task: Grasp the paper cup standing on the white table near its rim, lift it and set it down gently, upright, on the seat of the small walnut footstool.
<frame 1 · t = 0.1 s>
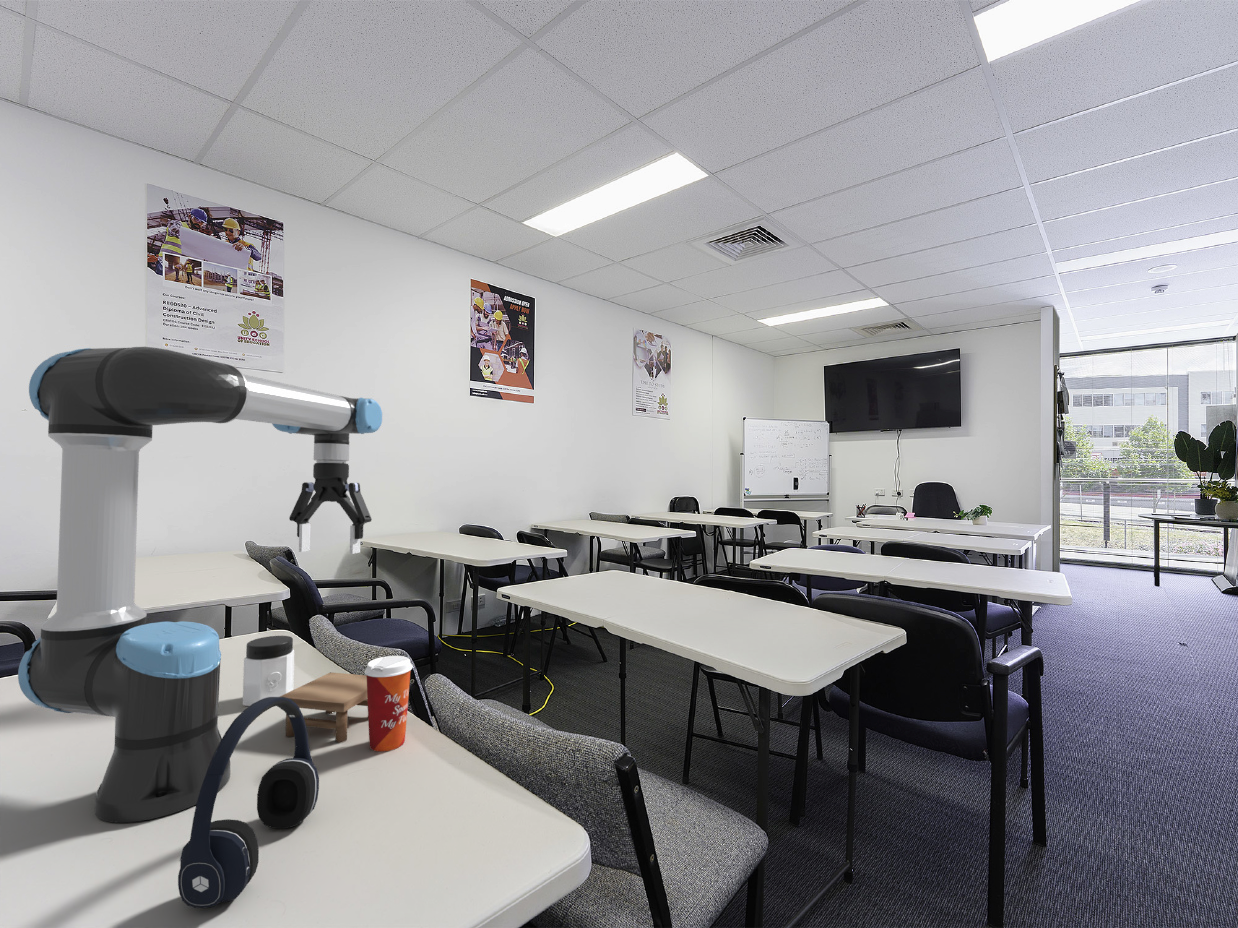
hand: (329, 552, 132), 28 cm above the table, fingers open, 13 cm apart
paper cup: (387, 744, 96), on the table
headphones: (256, 859, 67), on the table
jar: (268, 700, 115), on the table
stool: (335, 725, 103), on the table
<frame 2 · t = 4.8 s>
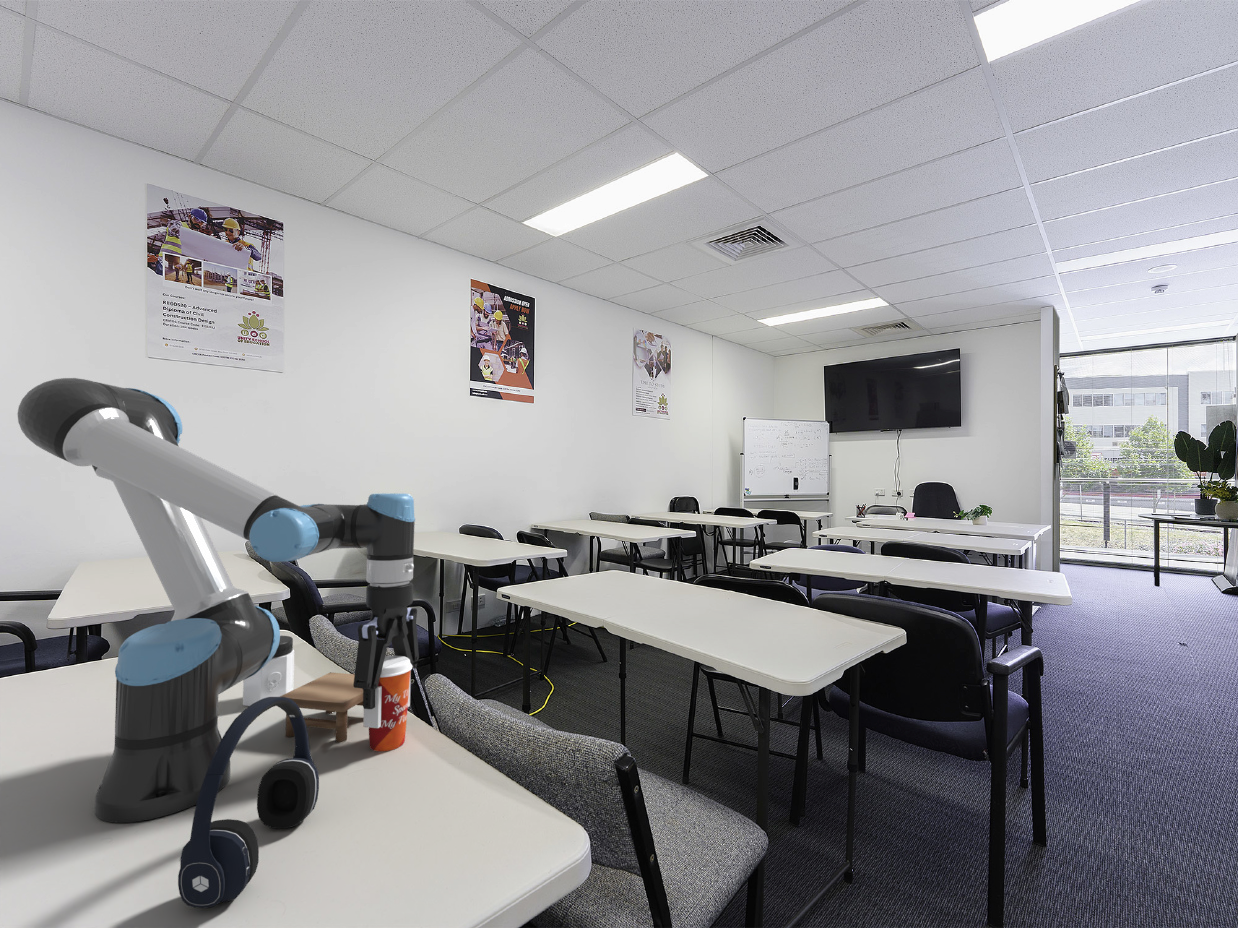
hand: (387, 715, 96), 5 cm above the table, fingers closed on paper cup, 8 cm apart
paper cup: (387, 744, 96), on the table, touching gripper
everything else where it was.
when the fingers open (12 cm above the table, at t = 9.7 s): paper cup stays where it is, resting on stool.
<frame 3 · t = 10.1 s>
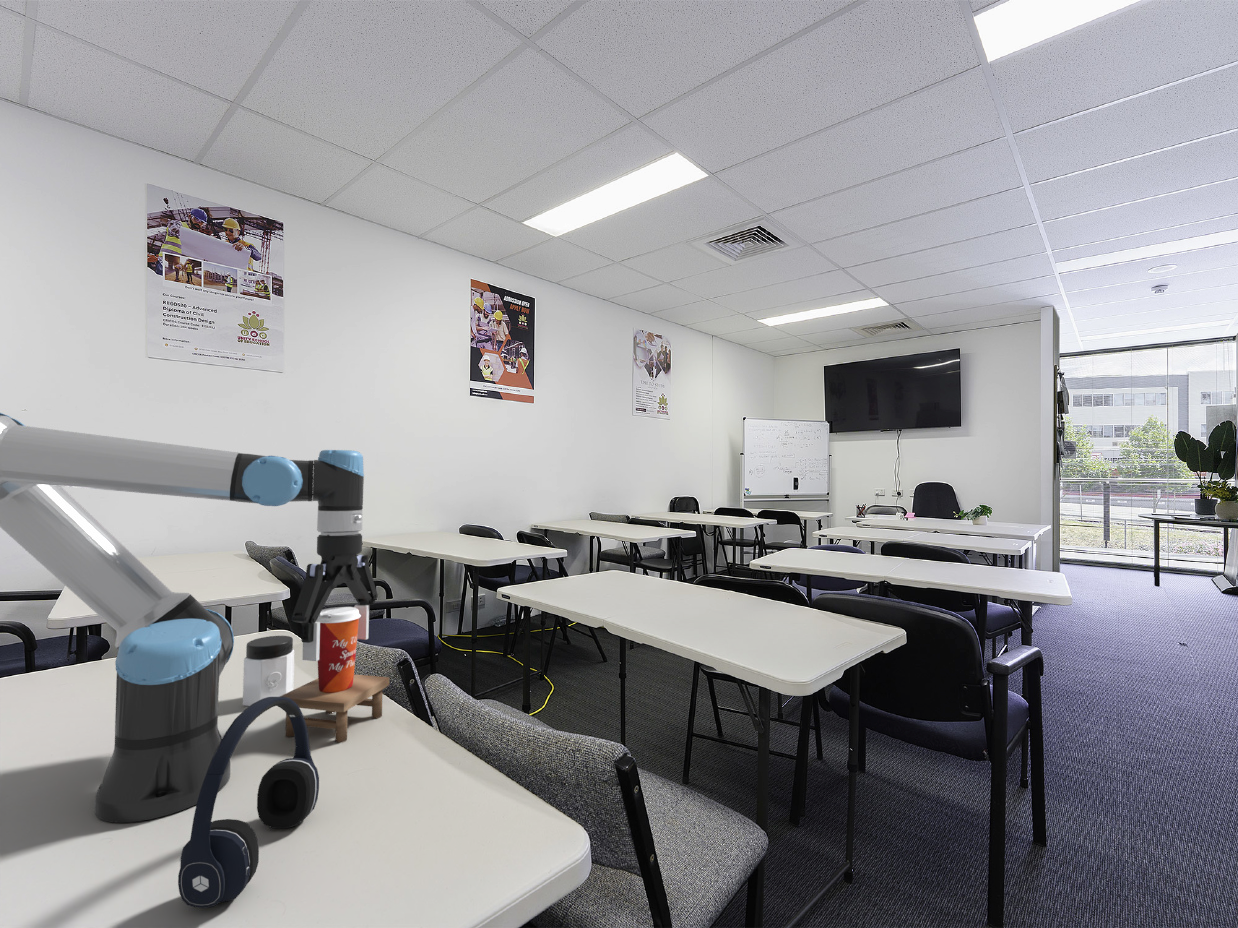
hand: (337, 648, 104), 14 cm above the table, fingers open, 13 cm apart
paper cup: (336, 688, 103), point 7 cm above the table, touching stool
everything else where it was.
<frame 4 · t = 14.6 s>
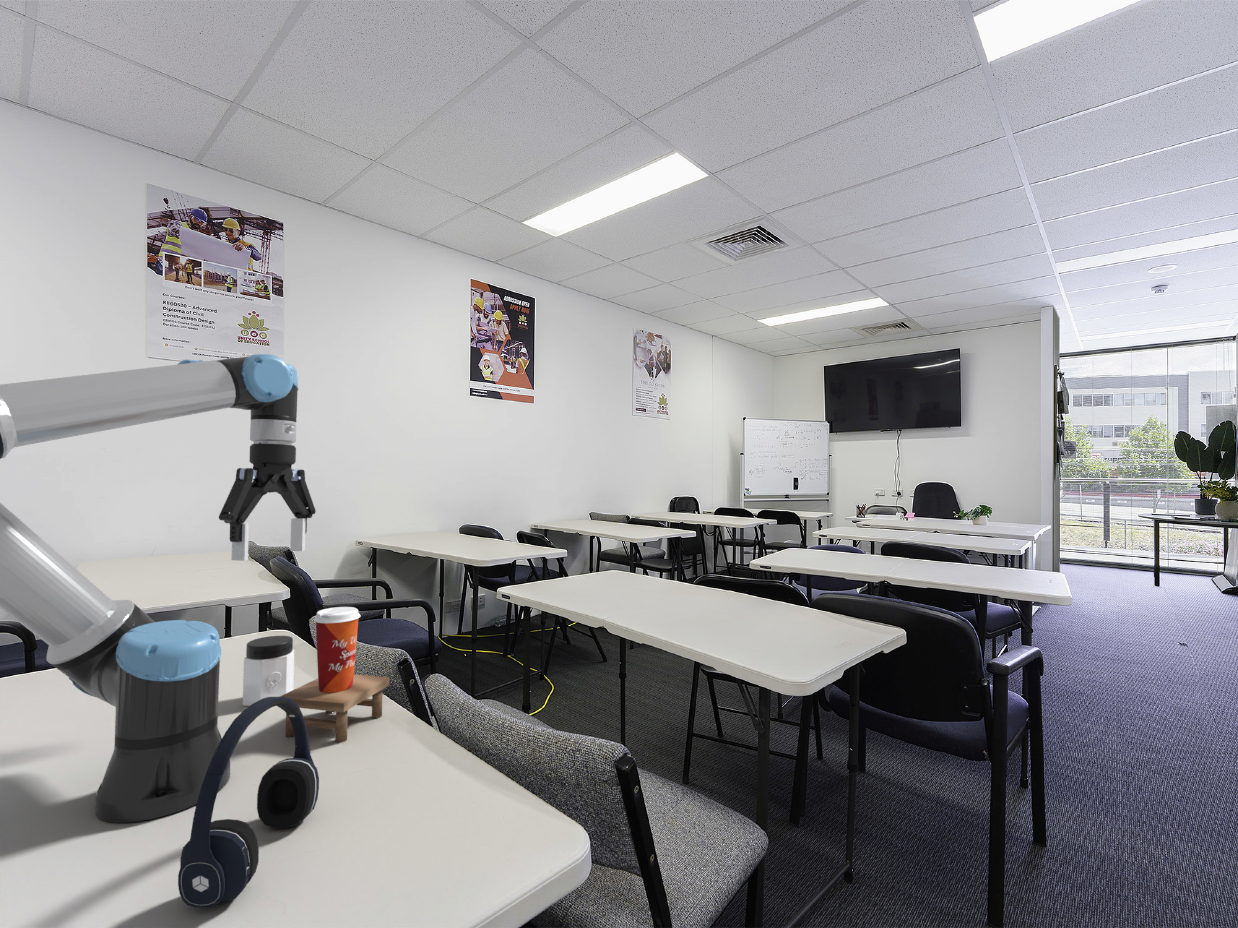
hand: (270, 555, 106), 31 cm above the table, fingers open, 13 cm apart
nothing on the table moved.
at the end: paper cup inside the target area on the stool (0.2 cm from its centre), point 6.8 cm above the stool's base; paper cup tilted 0°; paper cup touching stool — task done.
